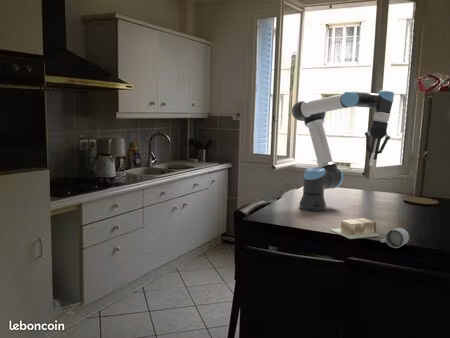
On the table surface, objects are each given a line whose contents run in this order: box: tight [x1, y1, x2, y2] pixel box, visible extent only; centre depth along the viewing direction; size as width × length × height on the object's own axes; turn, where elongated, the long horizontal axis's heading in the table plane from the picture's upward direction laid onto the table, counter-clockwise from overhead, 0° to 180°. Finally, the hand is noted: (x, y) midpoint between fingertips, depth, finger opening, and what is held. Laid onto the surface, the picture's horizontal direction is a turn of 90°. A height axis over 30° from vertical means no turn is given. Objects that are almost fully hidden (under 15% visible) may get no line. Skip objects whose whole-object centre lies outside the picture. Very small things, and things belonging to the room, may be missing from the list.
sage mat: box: [330, 227, 380, 240], centre depth 185 cm, size 16×14×1 cm
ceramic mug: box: [379, 227, 410, 249], centre depth 169 cm, size 11×8×8 cm
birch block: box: [340, 217, 377, 235], centre depth 185 cm, size 5×7×14 cm
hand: (371, 165), depth 213 cm, fingers closed
